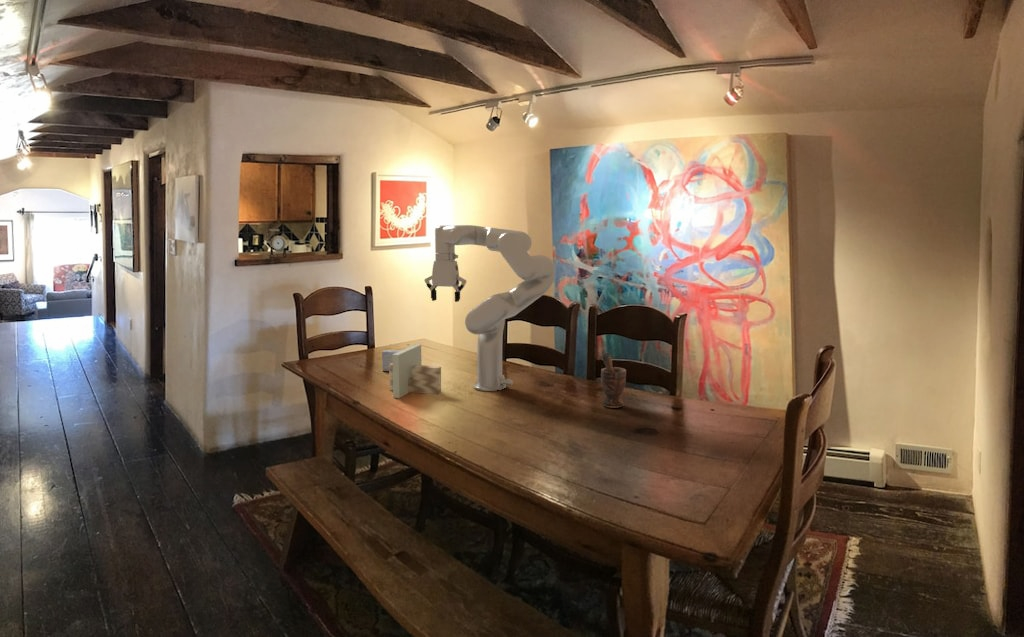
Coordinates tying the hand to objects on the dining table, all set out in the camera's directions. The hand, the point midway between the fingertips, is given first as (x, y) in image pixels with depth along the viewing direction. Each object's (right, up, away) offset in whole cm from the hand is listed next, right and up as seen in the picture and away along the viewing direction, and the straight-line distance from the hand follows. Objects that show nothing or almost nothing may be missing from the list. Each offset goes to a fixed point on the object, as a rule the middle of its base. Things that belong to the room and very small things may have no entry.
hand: (445, 300), depth 262 cm
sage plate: (-13, -34, -11) cm, 38 cm away
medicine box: (-25, -30, +21) cm, 44 cm away
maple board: (-10, -34, -12) cm, 38 cm away
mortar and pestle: (+61, -38, -31) cm, 78 cm away
